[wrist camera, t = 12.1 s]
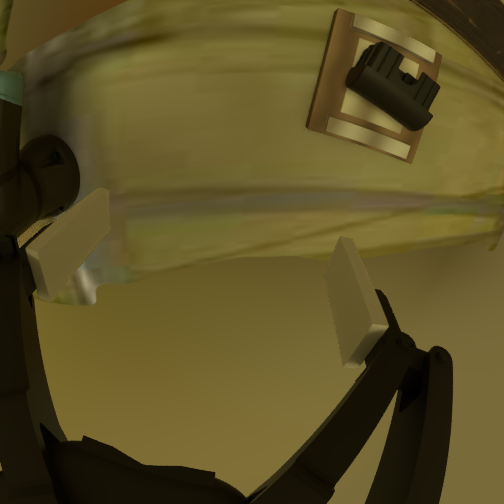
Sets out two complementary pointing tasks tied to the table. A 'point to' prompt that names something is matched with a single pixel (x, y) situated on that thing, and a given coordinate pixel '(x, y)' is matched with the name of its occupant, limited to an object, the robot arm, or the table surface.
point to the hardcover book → (474, 26)
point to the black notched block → (393, 86)
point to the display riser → (353, 105)
